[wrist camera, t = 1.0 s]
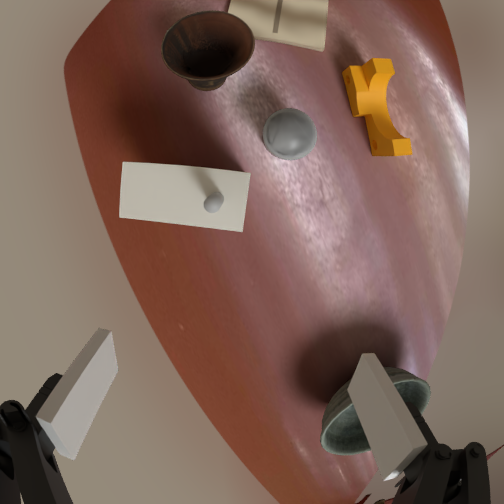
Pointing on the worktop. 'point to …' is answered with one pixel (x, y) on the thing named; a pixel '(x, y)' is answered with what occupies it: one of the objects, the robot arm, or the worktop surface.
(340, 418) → the bowl
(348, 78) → the yellow shaft support bracket
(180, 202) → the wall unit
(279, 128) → the grey knob
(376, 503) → the kendama
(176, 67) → the cup
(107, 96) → the worktop surface
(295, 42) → the board
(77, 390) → the robot arm
